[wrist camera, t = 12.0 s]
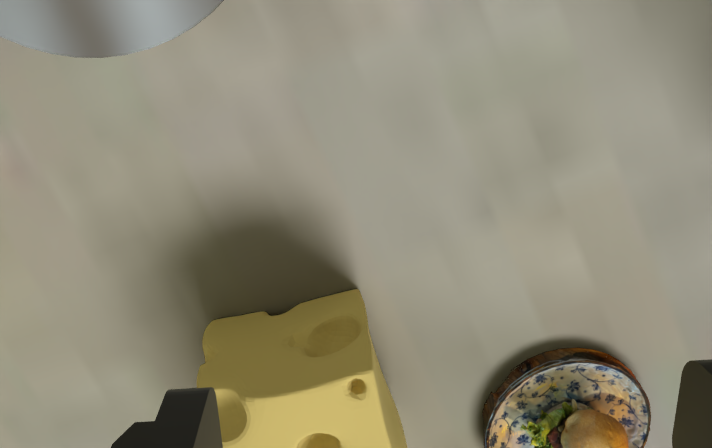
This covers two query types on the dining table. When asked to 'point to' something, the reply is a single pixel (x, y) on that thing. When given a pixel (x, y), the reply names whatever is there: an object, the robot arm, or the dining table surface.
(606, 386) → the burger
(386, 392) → the cheese
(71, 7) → the lid
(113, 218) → the dining table surface
